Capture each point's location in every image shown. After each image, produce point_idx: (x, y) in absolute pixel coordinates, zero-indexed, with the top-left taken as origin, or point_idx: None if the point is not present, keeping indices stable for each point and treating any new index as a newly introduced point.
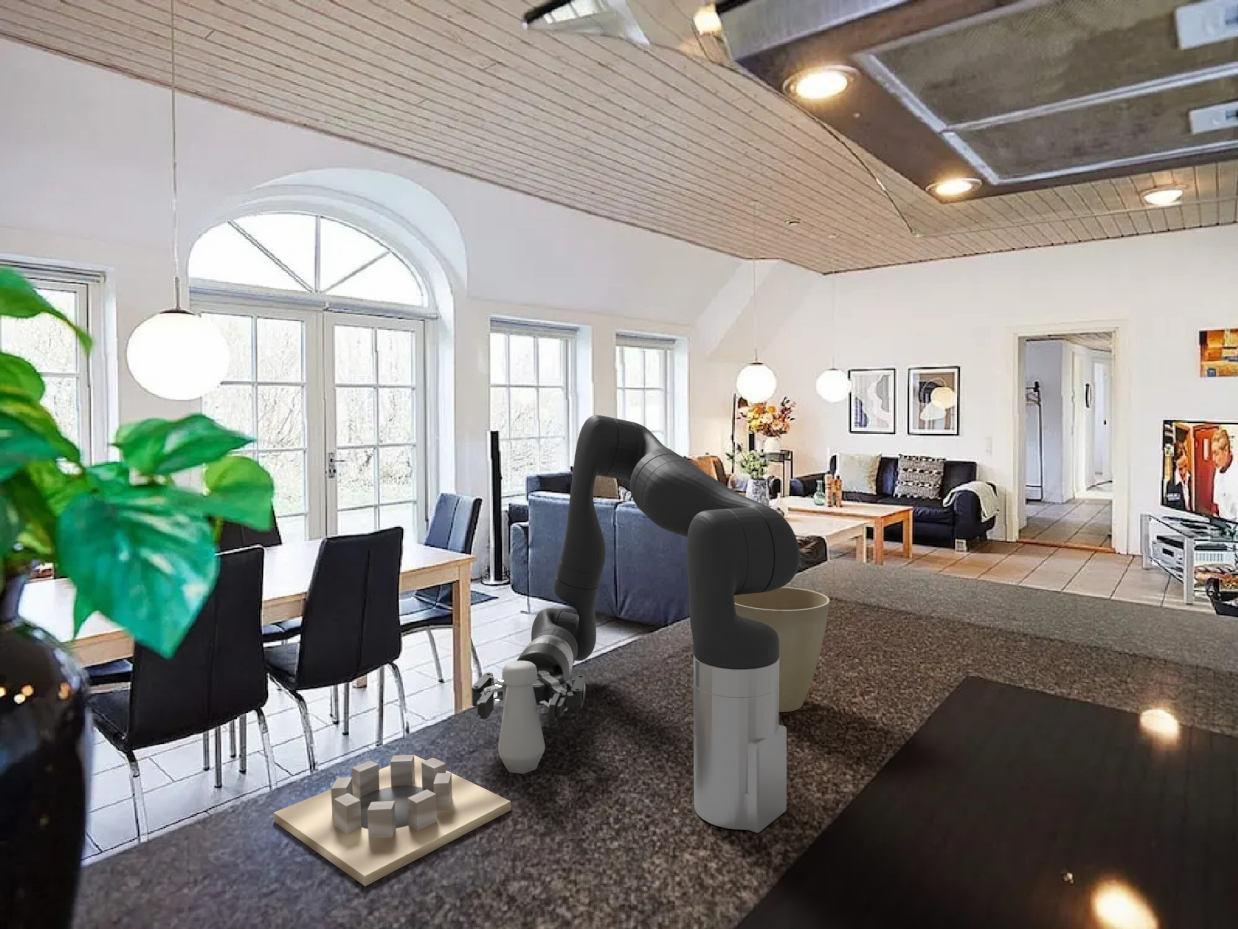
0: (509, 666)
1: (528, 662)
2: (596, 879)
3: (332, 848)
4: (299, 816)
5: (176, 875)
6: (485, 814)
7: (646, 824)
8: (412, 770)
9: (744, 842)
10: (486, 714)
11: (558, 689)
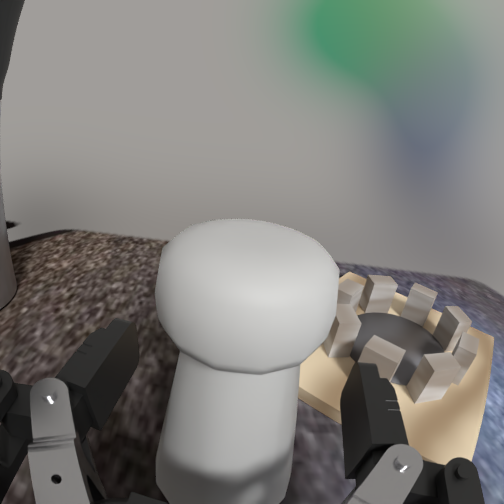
0: (299, 232)
1: (202, 240)
2: (150, 260)
3: (401, 297)
4: (470, 333)
5: (478, 300)
6: None
7: (68, 299)
8: (418, 372)
9: (14, 266)
10: (345, 394)
11: (56, 410)
